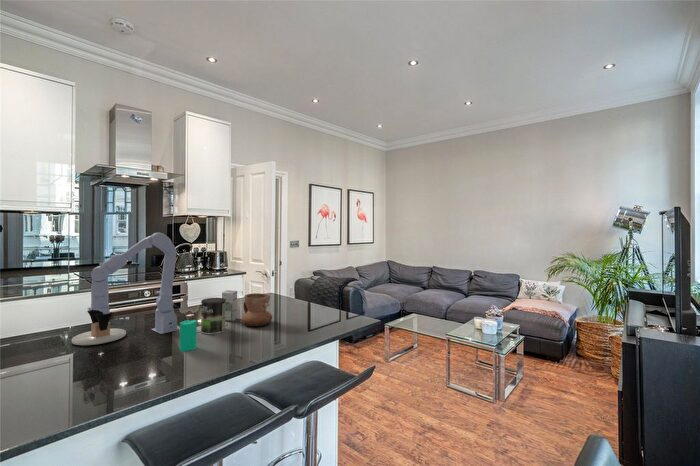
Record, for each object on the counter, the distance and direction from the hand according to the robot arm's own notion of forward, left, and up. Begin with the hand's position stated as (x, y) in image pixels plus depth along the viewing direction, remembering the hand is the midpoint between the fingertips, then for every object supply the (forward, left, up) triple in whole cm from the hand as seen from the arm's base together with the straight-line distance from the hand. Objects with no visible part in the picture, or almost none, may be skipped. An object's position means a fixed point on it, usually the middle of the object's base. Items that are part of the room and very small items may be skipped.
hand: (99, 328), depth 138 cm
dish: (0, 0, -4) cm, 4 cm away
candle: (-38, -17, -5) cm, 42 cm away
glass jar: (-26, -35, -5) cm, 44 cm away
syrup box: (-16, -50, -5) cm, 53 cm away
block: (0, 0, -3) cm, 3 cm away
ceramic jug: (-32, -54, -5) cm, 63 cm away
